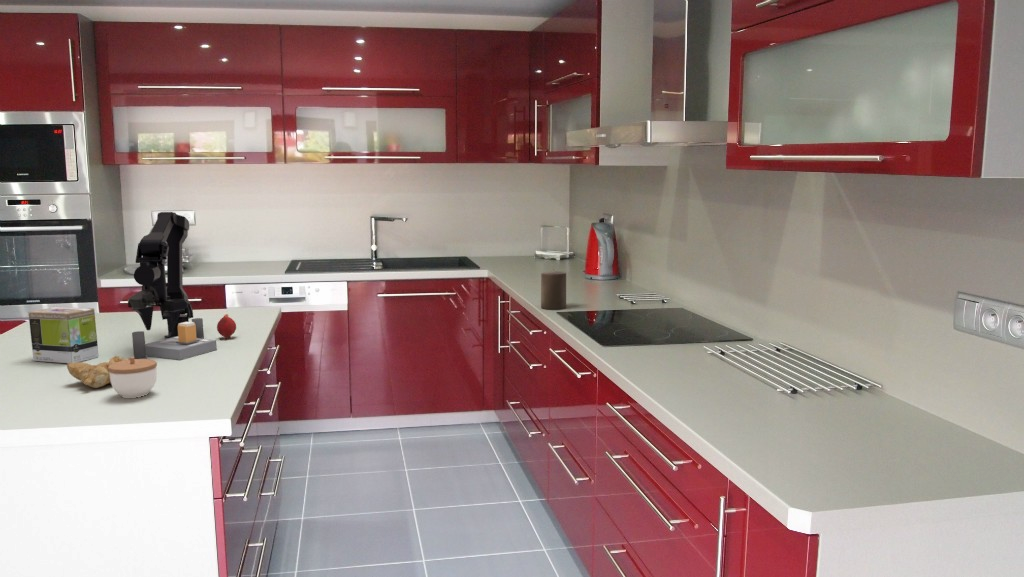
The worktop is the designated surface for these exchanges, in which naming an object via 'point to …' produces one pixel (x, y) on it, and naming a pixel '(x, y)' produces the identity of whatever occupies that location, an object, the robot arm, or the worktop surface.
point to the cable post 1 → (139, 345)
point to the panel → (179, 348)
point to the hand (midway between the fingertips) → (159, 331)
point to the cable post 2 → (199, 327)
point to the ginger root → (93, 372)
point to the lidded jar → (133, 377)
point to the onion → (226, 326)
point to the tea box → (63, 334)
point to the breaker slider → (187, 333)
